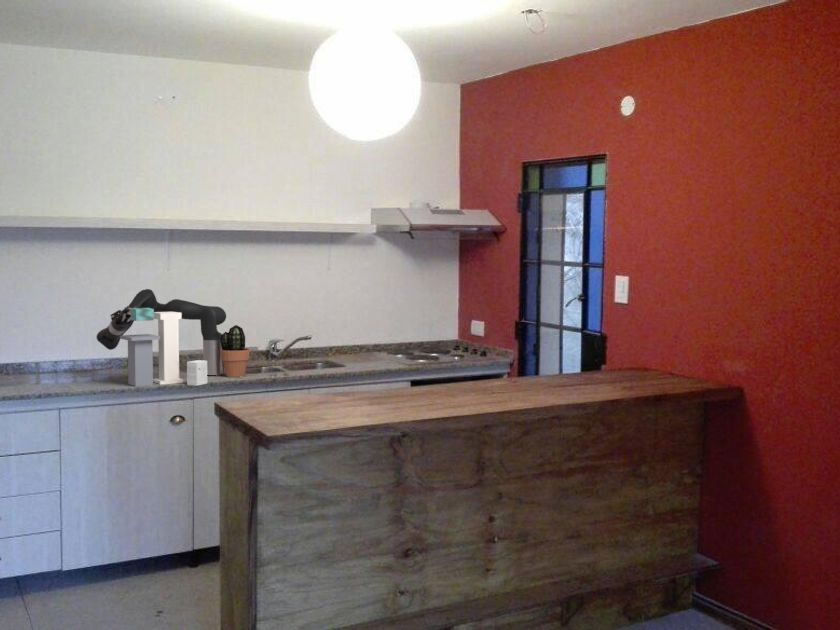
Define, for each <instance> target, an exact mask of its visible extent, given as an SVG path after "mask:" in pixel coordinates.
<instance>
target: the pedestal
mask: <svg viewBox="0 0 840 630" xmlns="http://www.w3.org/2000/svg"><path fill="white" fill-rule="evenodd" d="M158 339H160V336H158V335H155V334H152V333H151V334H149V333H144V334H143V333H142V334H140V333H139V334H126V335H125V334H123V335H122V336H120V340H125V341H127V361H128V362H127V366H128V367H127V369H128V371H127V372H128V373H127V374H128V375H127V376H128V379H127V380H128V381H127V382H128V383H127V384H128V386H132V387H147V386H153V385H154V383H153V379H154V370H153V369H154V366H153V365H154V362H153V359H154V357H153V356H154V355H153V341H154V340H155V341H157V340H158Z"/></svg>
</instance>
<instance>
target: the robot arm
mask: <svg viewBox="0 0 840 630" xmlns="http://www.w3.org/2000/svg"><path fill="white" fill-rule="evenodd" d="M124 308H125V309H124ZM124 308H123V309H122V310H121V309H118V310H116V311H115V312H113V313H112V314H110V319H111V321H110V323H109V324H108V325H107V327H105V328H103V329H101V330H100V331H98V333H97V334H96V340H97V341H98V343H100V344H101V345H103V346H104V347H105V348H106V349H107V350H111V351H112V350H114V349H116V348H117V347H118V345H119V343H120V341H121V339H120V336H122V335H125V333H126V332H127V331H128V330H129V329H130V328H131V327H132V325H133V324H134V322H135V321H134V320H131V315H129V314H127V313H128V312H129V310H130V308H151V309H154V312H180V313H182V319H181V320H200V332H201V336H202V351H203V352H202V360H204V361H207V375H216V376H222V375H225V368H224V364H223V360H221V349H222V347H221V343H220V340H221V335H222V334H223V333H221V332H220V331H218V327H217V326H219V325H222V324H223V323H224V322H225V321H226V319H227V313H226V311H225V310H224V308H222V307H221V306H215V305H213V306H212V305H203V304H199V303H196V302H192V301H188V300H182V299H179V298H178V299H177V298H174V299H172V300H169V301H167V302H166V303H160V302H159V301H158V299H157V297H156V295H155V293H154V291H153V290H152V289H149V288H145V290H144V289H143V290H140V291H139V292H138V293H136V295H134V298H133V299H132V300H131V302H130V303H129V305H127V306H126V307H124ZM221 374H222V375H221Z"/></svg>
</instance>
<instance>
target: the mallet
mask: <svg viewBox="0 0 840 630" xmlns="http://www.w3.org/2000/svg"><path fill="white" fill-rule="evenodd" d="M123 309H125V307H124V308H123ZM127 314H129V315H131V320H134V322H144V321H146V322H147V321H154V320H155V319H154V309H151V308H130V310H129V312H128V313H127Z"/></svg>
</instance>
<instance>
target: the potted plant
mask: <svg viewBox="0 0 840 630" xmlns="http://www.w3.org/2000/svg"><path fill="white" fill-rule="evenodd" d="M221 334H222V335H221V340H220V343H221V347H222V349H221V360H223V364H224V374H225V376H227V377H226V378H230V377H238V378H241V377H240V376H244V377H245V376H246V372H247V371H246V370H247V366H248V362H249V360H250V352H251V351H250V350H251V349H250V348H247V347H246V335H245V332H244V329H243V328H242V327H240V326H239V325H237V324H234V325H233V326H232V327H230V328H229V330H228V332H227V331H225V332H223V333H221Z"/></svg>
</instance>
